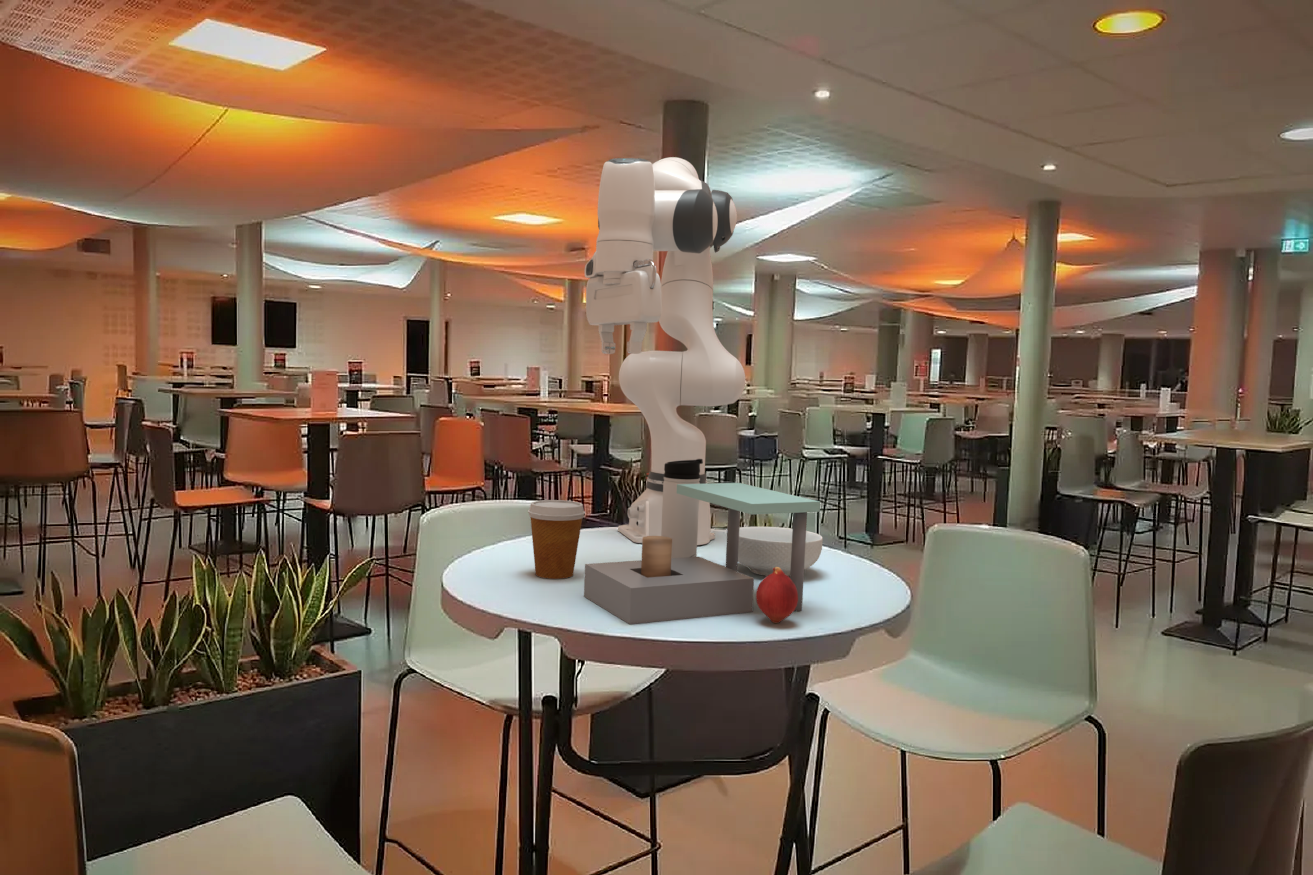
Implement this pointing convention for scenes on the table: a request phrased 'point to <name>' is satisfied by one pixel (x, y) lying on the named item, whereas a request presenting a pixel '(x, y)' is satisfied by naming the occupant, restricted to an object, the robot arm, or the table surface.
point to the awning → (758, 503)
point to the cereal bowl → (774, 549)
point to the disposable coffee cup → (555, 536)
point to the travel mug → (680, 507)
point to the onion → (777, 596)
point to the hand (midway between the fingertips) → (620, 353)
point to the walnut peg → (656, 556)
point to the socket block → (668, 590)
